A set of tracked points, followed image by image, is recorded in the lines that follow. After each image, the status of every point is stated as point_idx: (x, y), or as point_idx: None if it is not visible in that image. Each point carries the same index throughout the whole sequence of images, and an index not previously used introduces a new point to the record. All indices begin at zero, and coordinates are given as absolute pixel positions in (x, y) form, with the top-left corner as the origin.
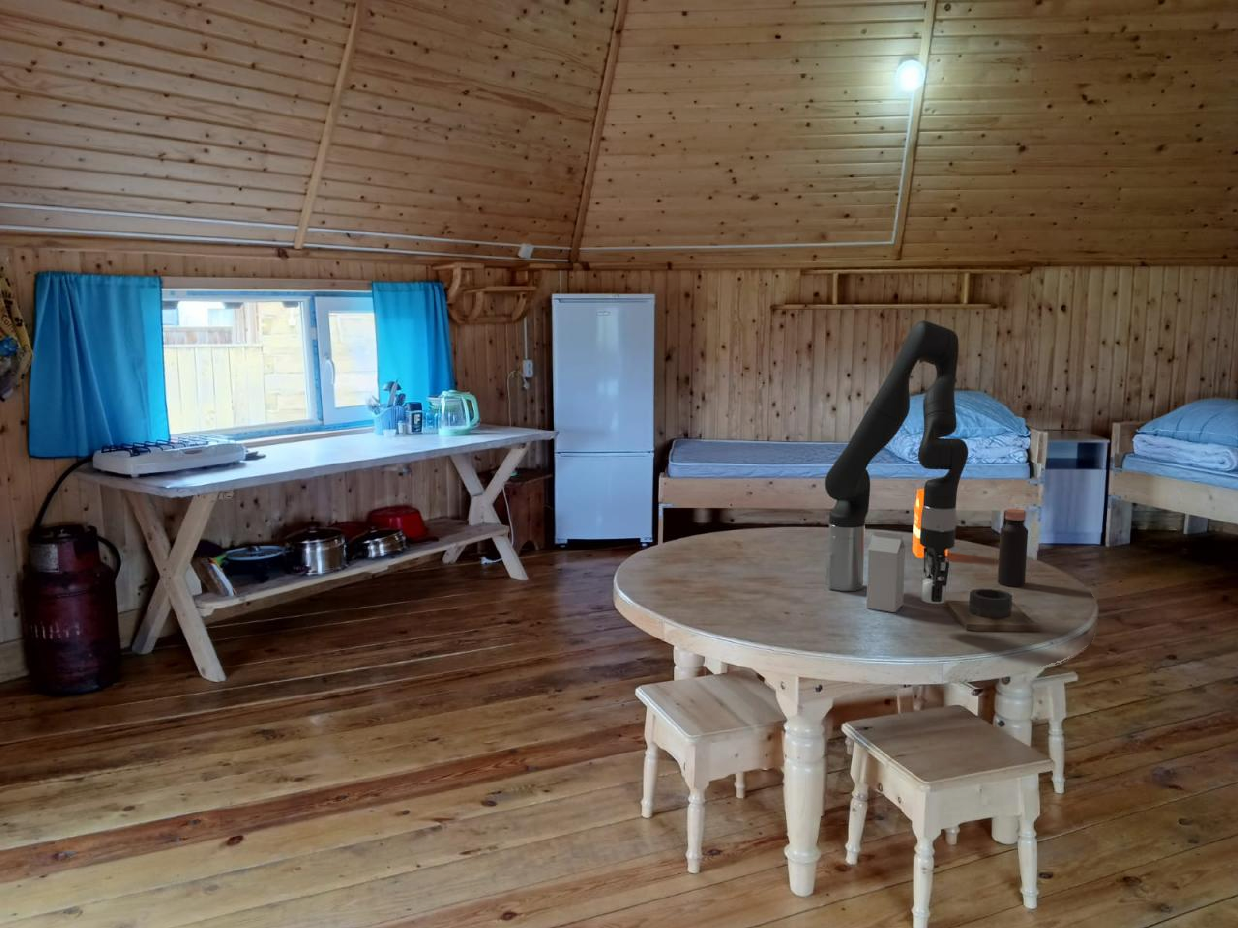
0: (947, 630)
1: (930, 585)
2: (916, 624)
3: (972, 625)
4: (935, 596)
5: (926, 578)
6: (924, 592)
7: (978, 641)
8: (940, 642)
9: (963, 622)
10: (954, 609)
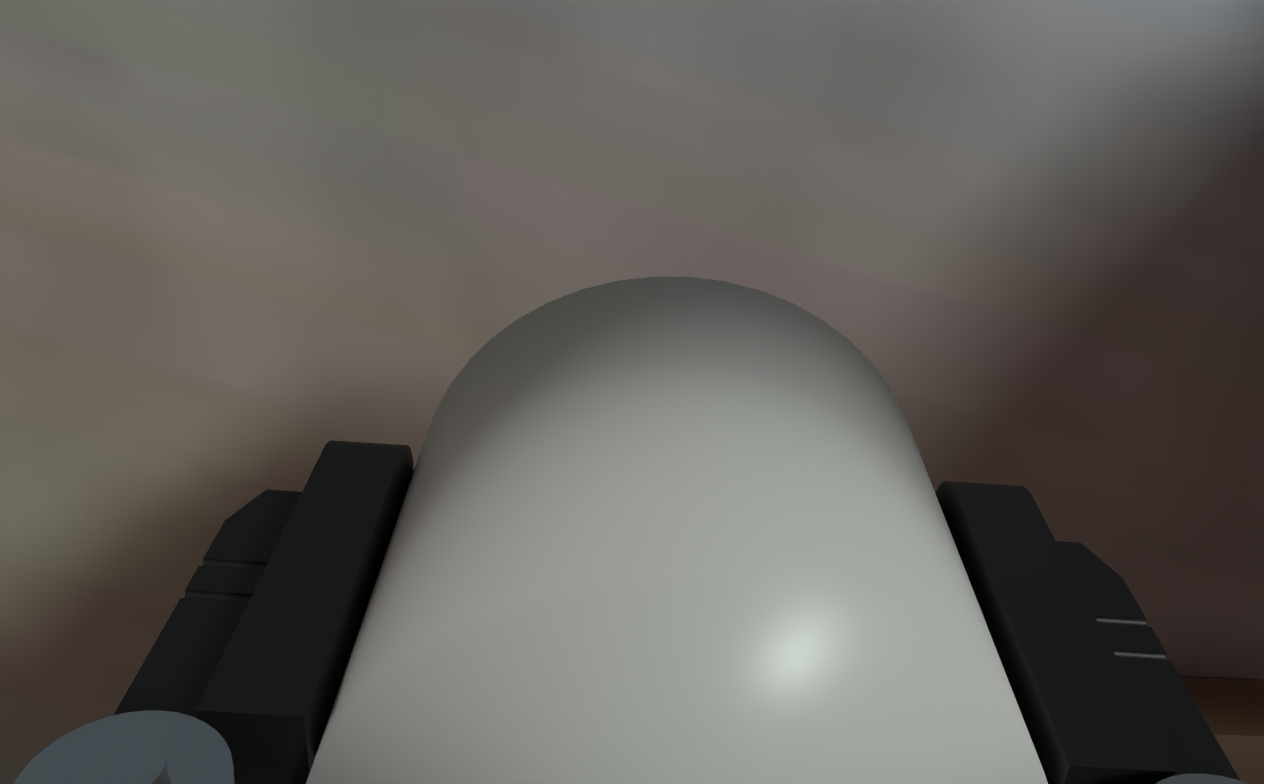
0: None
1: (359, 672)
2: (932, 104)
3: None
4: (211, 568)
5: (1133, 767)
6: (560, 398)
7: None
8: (121, 219)
9: None
10: (1252, 745)
